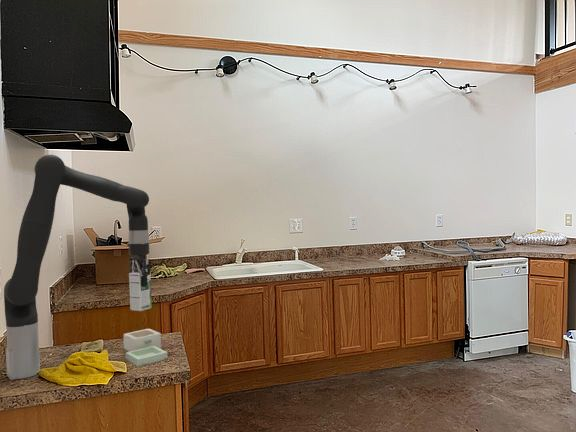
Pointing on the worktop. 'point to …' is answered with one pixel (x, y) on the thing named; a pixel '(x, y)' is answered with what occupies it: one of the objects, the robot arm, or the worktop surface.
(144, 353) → the tray
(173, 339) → the worktop surface
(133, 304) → the syrup box
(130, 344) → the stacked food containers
